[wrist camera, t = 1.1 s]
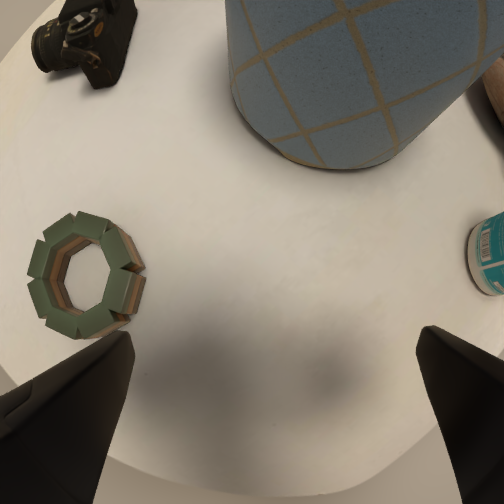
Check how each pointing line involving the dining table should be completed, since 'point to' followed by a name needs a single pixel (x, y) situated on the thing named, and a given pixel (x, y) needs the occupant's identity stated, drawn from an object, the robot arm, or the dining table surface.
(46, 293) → the ring stack
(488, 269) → the pill bottle
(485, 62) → the planter
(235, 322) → the dining table surface
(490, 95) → the cooking pot
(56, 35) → the film camera
